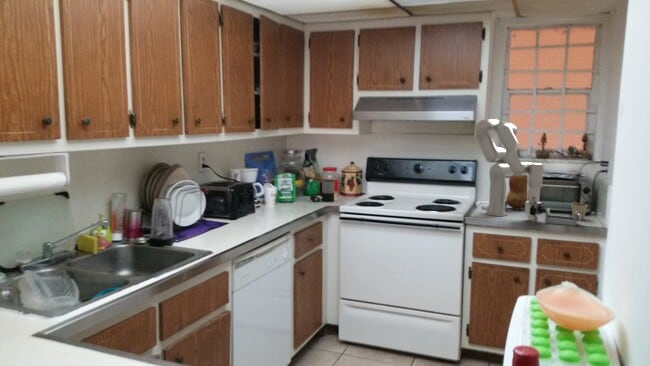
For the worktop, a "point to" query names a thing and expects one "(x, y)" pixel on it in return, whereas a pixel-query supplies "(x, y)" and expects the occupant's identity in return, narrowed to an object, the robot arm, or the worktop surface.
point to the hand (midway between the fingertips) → (533, 213)
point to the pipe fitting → (562, 219)
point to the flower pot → (579, 209)
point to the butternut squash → (517, 191)
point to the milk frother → (325, 191)
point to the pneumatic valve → (539, 210)
